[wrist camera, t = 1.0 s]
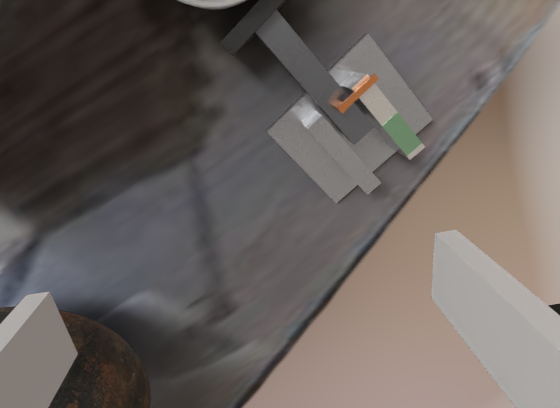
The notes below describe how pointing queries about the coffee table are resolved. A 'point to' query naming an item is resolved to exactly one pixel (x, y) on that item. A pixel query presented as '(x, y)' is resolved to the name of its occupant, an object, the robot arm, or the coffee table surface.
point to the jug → (99, 368)
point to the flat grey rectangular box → (377, 109)
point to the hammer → (302, 66)
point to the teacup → (213, 3)
